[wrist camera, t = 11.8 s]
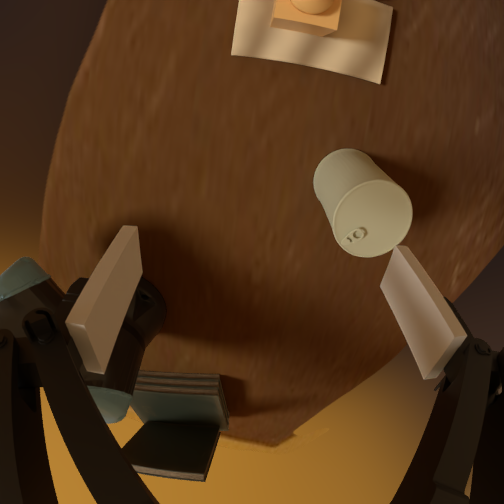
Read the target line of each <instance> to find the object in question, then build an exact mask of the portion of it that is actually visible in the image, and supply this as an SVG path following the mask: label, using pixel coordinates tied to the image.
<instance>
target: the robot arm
mask: <svg viewBox="0 0 504 504" xmlns="http://www.w3.org/2000/svg"><path fill="white" fill-rule="evenodd" d="M142 273H143V270H142V262H141V254H140V245H139V236H138V226H126V225H123V226H122V228H121V229H120V231H119V232H118V234H117V235H116V237H115V238H114V240H113V241H112V243H111V244H110V246H109V248H108V249H107V251H106V252H105V254H104V255H103V257H102V259H101V260H100V262H99V263H98V265H97V267H96V268H95V270H94V272H93V273H92V275H91V277H90V278H79V279H78V280H76V281H75V282H74V283H73V284H72V285H71V286H70V288H69V289H68V291H67V293H66V294H65V293H64V292H63V291H62V290H61V289H60V288H59V287H58V286H57V284H56V283H55V282H54V281H53V280H52V279H51V278H50V277H51V276H50V275H49V274H47V273H46V272H45V271H44V270H43V269H42V268H41V267H40V266H39V265H38V264H37V263H36V262H35V261H34V260H33V259H32V258H29V257H22V258H20V259H19V260H17V261H16V262H15V263H14V264H13V265H11V266H10V267H9V268H8V269H7V270H6V271H5V272H3V273H2V274H1V275H0V504H58V500H57V496H56V493H55V488H54V484H53V480H52V475H51V471H50V466H49V460H48V455H47V449H46V443H45V436H44V428H43V420H42V411H41V399H40V387H43V388H44V391H45V394H46V397H47V400H48V403H49V405H50V408H51V411H52V413H53V416H54V418H55V421H56V423H57V425H58V428H59V430H60V433H61V435H62V437H63V440H64V442H65V444H66V446H67V448H68V451H69V453H70V455H71V457H72V459H73V461H74V463H75V465H76V467H77V469H78V471H79V473H80V474H81V476H82V478H83V480H84V482H85V484H86V485H87V487H88V489H89V491H90V492H91V494H92V496H93V497H94V499H95V501H96V503H97V504H159V502H158V501H157V500H156V498H155V497H154V496H153V495H152V493H151V492H150V490H149V489H148V488H147V486H146V485H145V484H144V482H143V481H142V479H141V478H140V476H139V475H138V474H137V472H136V471H135V469H134V468H133V466H132V465H131V463H130V462H129V460H128V459H127V457H126V455H125V454H124V452H123V451H122V449H121V447H120V446H119V444H118V443H117V441H116V440H115V438H114V436H113V434H112V433H111V431H110V429H109V427H108V425H107V424H106V423H116V422H118V421H121V420H122V419H123V418H124V417H125V416H126V414H127V410H128V408H129V405H130V402H131V401H132V399H133V397H132V396H133V392H134V388H135V384H136V380H137V377H138V373H139V369H140V366H141V362H142V358H143V355H144V351H145V348H146V347H147V346H148V345H149V343H150V342H151V341H152V340H153V338H154V337H155V336H156V335H157V334H158V332H159V331H160V330H161V328H162V326H163V323H164V320H165V317H166V305H165V302H164V300H163V298H162V296H161V294H160V293H159V292H158V290H157V289H156V288H155V287H154V286H153V285H152V284H150V283H149V282H148V281H146V280H145V279H143V278H142V277H141V275H142ZM380 287H381V289H382V291H383V293H384V295H385V297H386V299H387V301H388V303H389V305H390V307H391V309H392V311H393V313H394V315H395V317H396V319H397V321H398V324H399V326H400V328H401V330H402V332H403V334H404V336H405V338H406V341H407V343H408V345H409V347H410V349H411V351H412V354H413V356H414V358H415V361H416V363H417V365H418V367H419V370H420V372H421V374H422V377H423V379H424V380H426V379H432V378H437V376H438V375H439V374H440V373H441V371H442V370H443V369H444V372H445V374H446V375H445V376H444V378H443V379H442V380H441V382H440V383H439V384H438V385H437V386H436V388H435V389H434V390H435V391H436V390H437V389H438V388H439V387H440V389H439V392H438V395H437V398H436V401H435V404H434V407H433V410H432V413H431V416H430V418H429V421H428V423H427V426H426V429H425V431H424V434H423V436H422V439H421V441H420V444H419V446H418V449H417V451H416V453H415V455H414V458H413V460H412V462H411V464H410V466H409V468H408V470H407V473H406V475H405V477H404V479H403V481H402V483H401V484H400V487H399V488H398V490H397V492H396V494H395V496H394V498H393V500H392V501H391V502H390V504H504V347H503V349H502V350H501V351H500V352H497V351H492V350H491V348H490V346H489V345H488V344H487V343H486V342H485V341H483V340H481V339H478V338H474V337H473V336H472V334H471V332H470V330H469V329H468V327H467V325H466V324H465V322H464V321H463V319H461V316H460V314H459V313H457V310H456V308H455V307H454V305H453V304H452V303H451V302H450V301H449V300H448V299H447V298H446V297H443V296H442V295H441V293H440V292H439V290H438V289H437V287H436V286H435V284H434V283H433V281H432V280H431V278H430V277H429V276H428V274H427V273H426V271H425V270H424V269H423V267H422V266H421V264H420V263H419V262H418V260H417V259H416V258H415V256H414V255H413V254H412V252H411V251H410V250H409V248H408V247H407V246H399V245H395V248H394V251H393V253H392V256H391V259H390V262H389V264H388V267H387V269H386V272H385V275H384V277H383V280H382V282H381V285H380ZM501 386H502V392H501V394H498V389H500V387H501ZM473 462H474V463H473ZM472 465H473V475H472V484H471V492H470V499H469V497H468V496H466V495H465V494H464V491H465V487H466V484H467V481H468V478H469V475H470V472H471V468H472Z"/></svg>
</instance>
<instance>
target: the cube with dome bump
mask: <svg viewBox="0 0 504 504" xmlns="http://www.w3.org/2000/svg"><path fill="white" fill-rule="evenodd" d="M341 3H342V0H275V1H274V7H273V13H272V19H271V25H270V27H273V28H279V29H285V30H291V31H296V32H302V33H307V34H311V35H316V36H320V37H323V36H325V35H327V34H330V33H332V32H334V31H337V28H338V22H339V16H340V9H341Z"/></svg>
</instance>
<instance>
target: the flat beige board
mask: <svg viewBox="0 0 504 504" xmlns="http://www.w3.org/2000/svg"><path fill="white" fill-rule="evenodd" d="M274 1H275V0H239V5H238V11H237V18H236V25H235V31H234V38H233V45H232V52H231V55H234V56H244V57H253V58H261V59H268V60H275V61H282V62H288V63H294V64H299V65H304V66H309V67H314V68H319V69H324V70H328V71H332V72H337V73H341V74H345V75H348V76H352V77H356V78H360V79H363V80H367V81H370V82H373V83H377V84H380V83H381V77H382V72H383V67H384V62H385V56H386V50H387V44H388V38H389V32H390V25H391V18H392V11H393V7H390V6H388V5H385V4H382V3H379V2H377V1H374V0H342V3H341V9H340V16H339V22H338V28H337V31H334V32H332V33H330V34H327V35H325V36H323V37H320V36H316V35H311V34H307V33H302V32H296V31H291V30H285V29H279V28H273V27H270V25H271V19H272V13H273V7H274Z"/></svg>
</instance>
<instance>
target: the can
mask: <svg viewBox="0 0 504 504" xmlns="http://www.w3.org/2000/svg"><path fill="white" fill-rule="evenodd" d="M314 190H315V193H316V196H317V197H318V199H319V200H320V202H321V203H322V205H323V208H324V210H325V212H326V215H327V217H328V219H329V222H330V224H331V227H332V229H333V234H334V236H335V239H336V241H337V242H338V244H339V245H340V246H341V247H342V248H343V249H344V250H345V251H347V252H348V253H350V254H352V255H355V256H359V257H374V256H379V255H382V254H384V253H386V252H388V251H390V250H392V249H393V248H394V247H395V245H398V244H399V243H400V242H401V241H402V240H403V238H404V237H405V236H406V234H407V232H408V230H409V228H410V225H411V222H412V216H413V210H412V204H411V201H410V198H409V196H408V195H407V193H406V192H405V191H404V189H403V188H401V187H400V186H399V185H397V184H396V183H395V182H394V181H393V180H392V179H391V178H390V177H389V176H387V175H386V174H385V173H384V172H383V171H382V170H381V169H380V168H379V167H378V166H377V165H376V164H375V163H374V162H373V161H372V159H371V158H370V157H369V156H368V155H366V154H365V153H363V152H361V151H359V150H356V149H340V150H337V151H334V152H332V153H330V154H329V155H327V156H326V157H325V158H324V159H323V160H322V161H321V162H320V164H319V165H318V167H317V169H316V171H315V175H314Z"/></svg>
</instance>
